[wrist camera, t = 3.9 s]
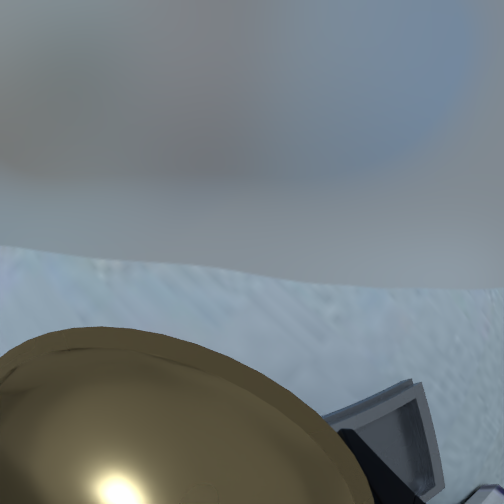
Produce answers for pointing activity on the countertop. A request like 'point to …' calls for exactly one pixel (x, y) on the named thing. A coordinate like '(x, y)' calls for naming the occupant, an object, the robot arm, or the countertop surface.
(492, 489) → the white long piece
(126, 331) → the brass domed cylinder
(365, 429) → the shallow square tray
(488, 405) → the countertop surface
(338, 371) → the countertop surface
